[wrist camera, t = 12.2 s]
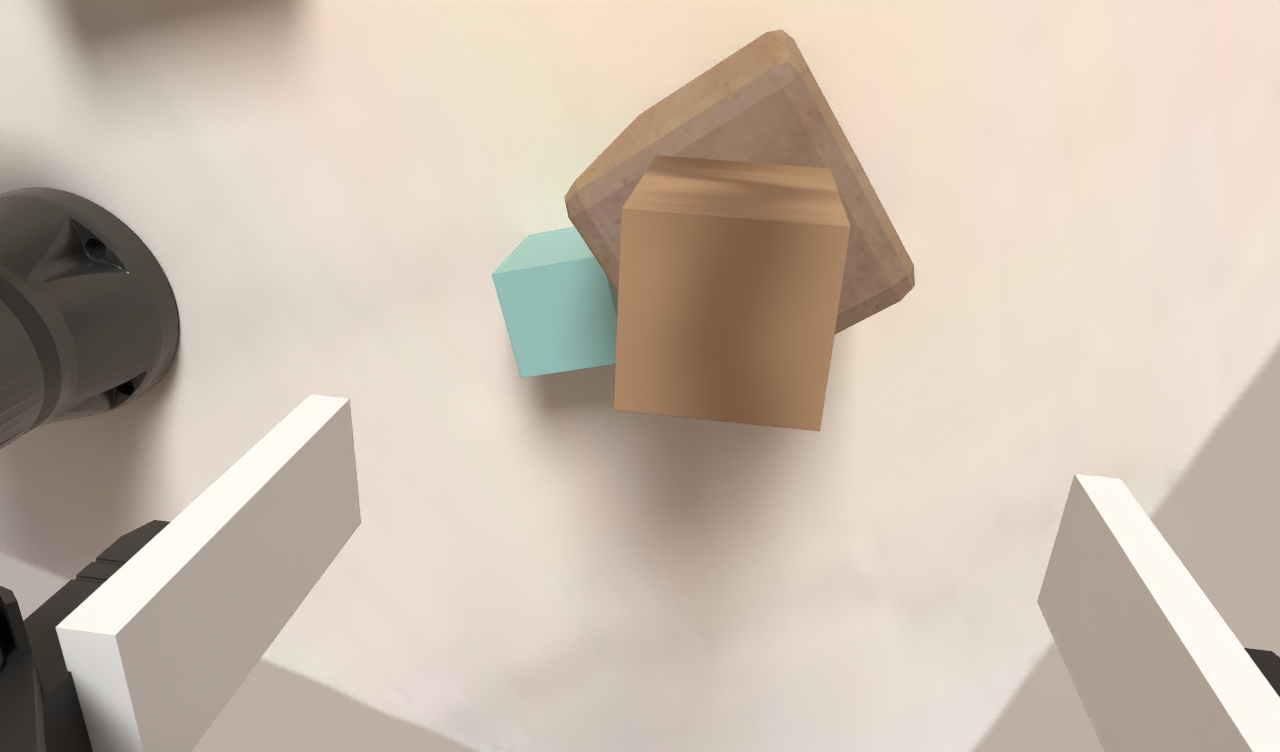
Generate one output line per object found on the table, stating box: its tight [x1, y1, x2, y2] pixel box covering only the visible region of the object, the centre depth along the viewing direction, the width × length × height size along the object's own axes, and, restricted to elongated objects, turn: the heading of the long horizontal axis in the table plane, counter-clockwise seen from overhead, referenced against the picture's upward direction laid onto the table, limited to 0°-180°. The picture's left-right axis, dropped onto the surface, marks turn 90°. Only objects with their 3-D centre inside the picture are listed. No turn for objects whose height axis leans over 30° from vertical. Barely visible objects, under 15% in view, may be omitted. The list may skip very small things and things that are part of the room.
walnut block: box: [614, 155, 850, 431], centre depth 28 cm, size 6×6×8 cm
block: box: [564, 30, 915, 334], centre depth 41 cm, size 10×10×20 cm
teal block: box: [492, 227, 618, 378], centre depth 50 cm, size 6×6×8 cm
